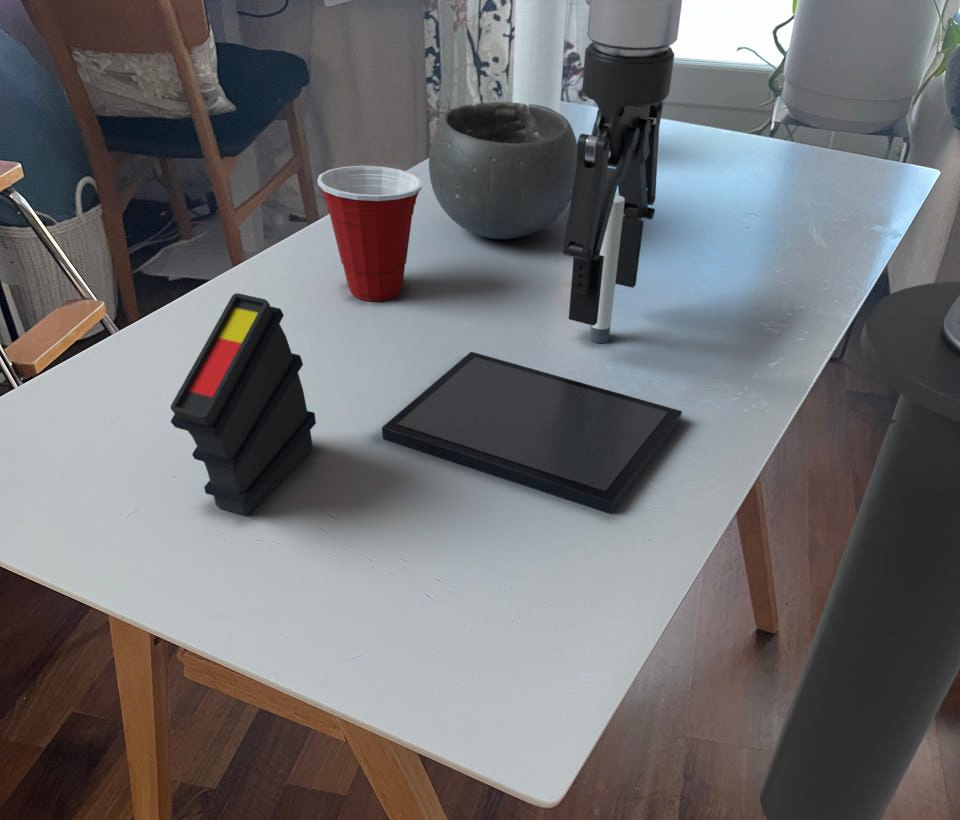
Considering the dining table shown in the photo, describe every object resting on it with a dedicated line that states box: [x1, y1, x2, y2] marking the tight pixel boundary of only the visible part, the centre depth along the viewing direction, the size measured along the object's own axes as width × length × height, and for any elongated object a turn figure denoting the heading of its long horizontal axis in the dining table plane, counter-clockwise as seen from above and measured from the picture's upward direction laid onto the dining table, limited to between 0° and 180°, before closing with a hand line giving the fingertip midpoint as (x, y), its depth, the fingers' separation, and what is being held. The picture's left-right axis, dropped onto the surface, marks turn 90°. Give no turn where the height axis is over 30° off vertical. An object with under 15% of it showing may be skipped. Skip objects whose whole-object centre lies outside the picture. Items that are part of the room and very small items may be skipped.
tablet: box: [381, 351, 683, 514], centre depth 86 cm, size 22×16×1 cm
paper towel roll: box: [512, 0, 568, 114], centre depth 130 cm, size 7×6×21 cm
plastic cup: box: [317, 165, 424, 302], centre depth 103 cm, size 11×11×12 cm
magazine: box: [170, 292, 317, 516], centre depth 77 cm, size 4×13×15 cm, turn 157°
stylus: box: [589, 194, 625, 344], centre depth 95 cm, size 2×2×14 cm
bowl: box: [428, 101, 578, 240], centre depth 115 cm, size 18×18×13 cm
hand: (603, 301), depth 97 cm, fingers open, 9 cm apart
